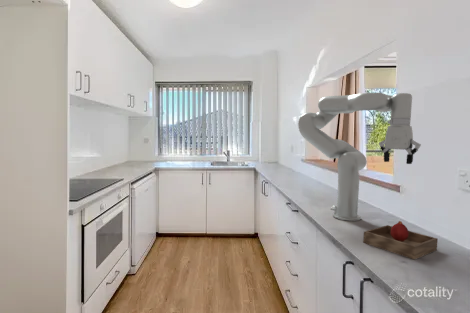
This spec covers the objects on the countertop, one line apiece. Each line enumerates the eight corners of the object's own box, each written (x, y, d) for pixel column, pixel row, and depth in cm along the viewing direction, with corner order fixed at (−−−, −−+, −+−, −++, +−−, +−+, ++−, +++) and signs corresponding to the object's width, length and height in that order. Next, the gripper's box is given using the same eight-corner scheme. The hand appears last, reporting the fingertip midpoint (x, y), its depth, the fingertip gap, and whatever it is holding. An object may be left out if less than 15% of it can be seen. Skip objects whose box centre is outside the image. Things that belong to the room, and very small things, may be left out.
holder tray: (363, 242, 114) (364, 231, 113) (386, 235, 123) (387, 225, 122) (414, 259, 99) (415, 246, 98) (436, 250, 108) (437, 238, 108)
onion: (390, 238, 115) (391, 217, 114) (408, 242, 112) (409, 220, 111) (389, 243, 110) (390, 221, 109) (407, 246, 107) (409, 224, 106)
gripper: (376, 122, 136) (373, 161, 138) (417, 122, 122) (414, 165, 123) (385, 123, 141) (382, 160, 142) (426, 123, 127) (423, 164, 128)
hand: (397, 162), depth 133 cm, fingers open, 9 cm apart
